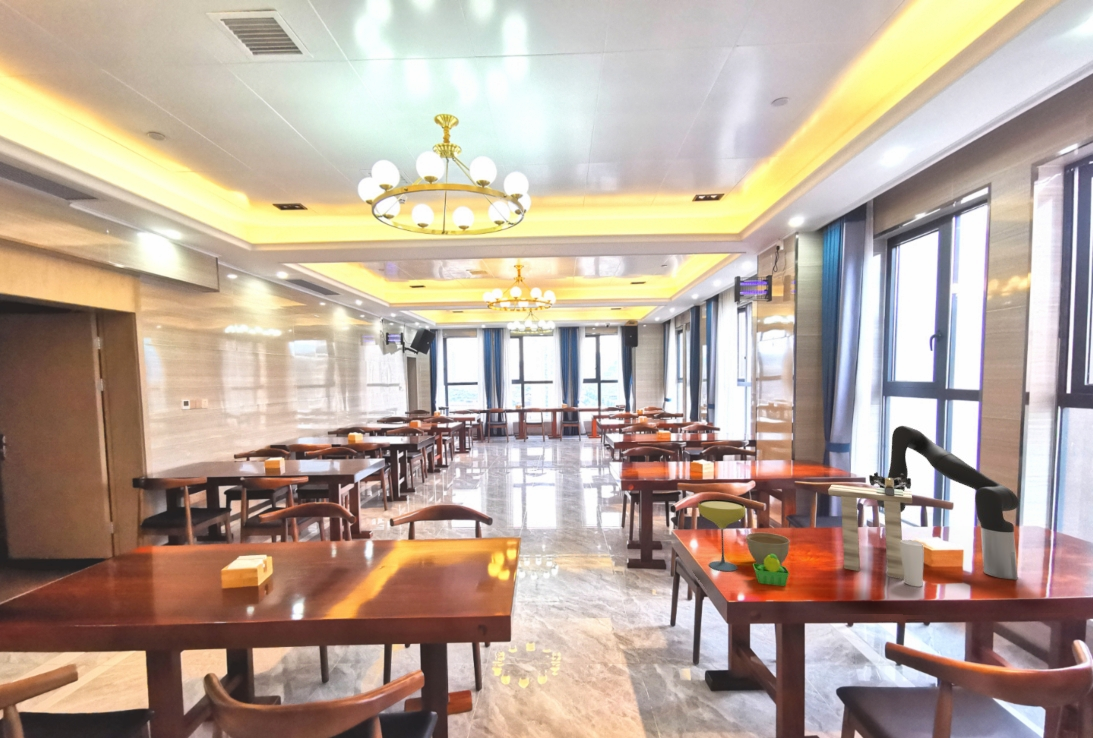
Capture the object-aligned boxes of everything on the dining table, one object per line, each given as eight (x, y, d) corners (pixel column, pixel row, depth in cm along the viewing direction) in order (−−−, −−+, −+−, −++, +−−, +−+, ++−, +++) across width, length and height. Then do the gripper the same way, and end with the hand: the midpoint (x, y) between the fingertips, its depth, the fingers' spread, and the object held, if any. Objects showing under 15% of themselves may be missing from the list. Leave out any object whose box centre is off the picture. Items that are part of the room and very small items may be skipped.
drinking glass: (902, 579, 174) (900, 538, 175) (925, 583, 169) (923, 542, 170) (901, 585, 169) (899, 543, 169) (925, 589, 164) (923, 546, 165)
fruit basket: (785, 579, 174) (784, 549, 175) (791, 589, 166) (789, 557, 166) (752, 576, 177) (751, 546, 178) (756, 586, 169) (755, 554, 169)
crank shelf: (835, 562, 192) (831, 483, 194) (915, 576, 176) (910, 490, 178) (831, 572, 180) (828, 488, 182) (917, 589, 165) (912, 496, 167)
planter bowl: (780, 558, 197) (779, 532, 197) (797, 573, 181) (796, 544, 181) (741, 557, 198) (740, 531, 199) (754, 571, 182) (753, 543, 183)
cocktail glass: (700, 572, 182) (698, 507, 184) (699, 557, 199) (697, 498, 201) (749, 577, 177) (747, 510, 178) (744, 561, 194) (742, 500, 195)
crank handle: (885, 485, 189) (884, 471, 190) (894, 485, 188) (893, 471, 188) (885, 494, 172) (884, 479, 172) (894, 495, 170) (893, 479, 170)
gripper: (870, 479, 210) (868, 465, 199) (910, 482, 201) (910, 468, 191) (870, 495, 206) (868, 482, 196) (911, 499, 198) (911, 485, 187)
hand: (889, 475), depth 193 cm, fingers open, 8 cm apart
